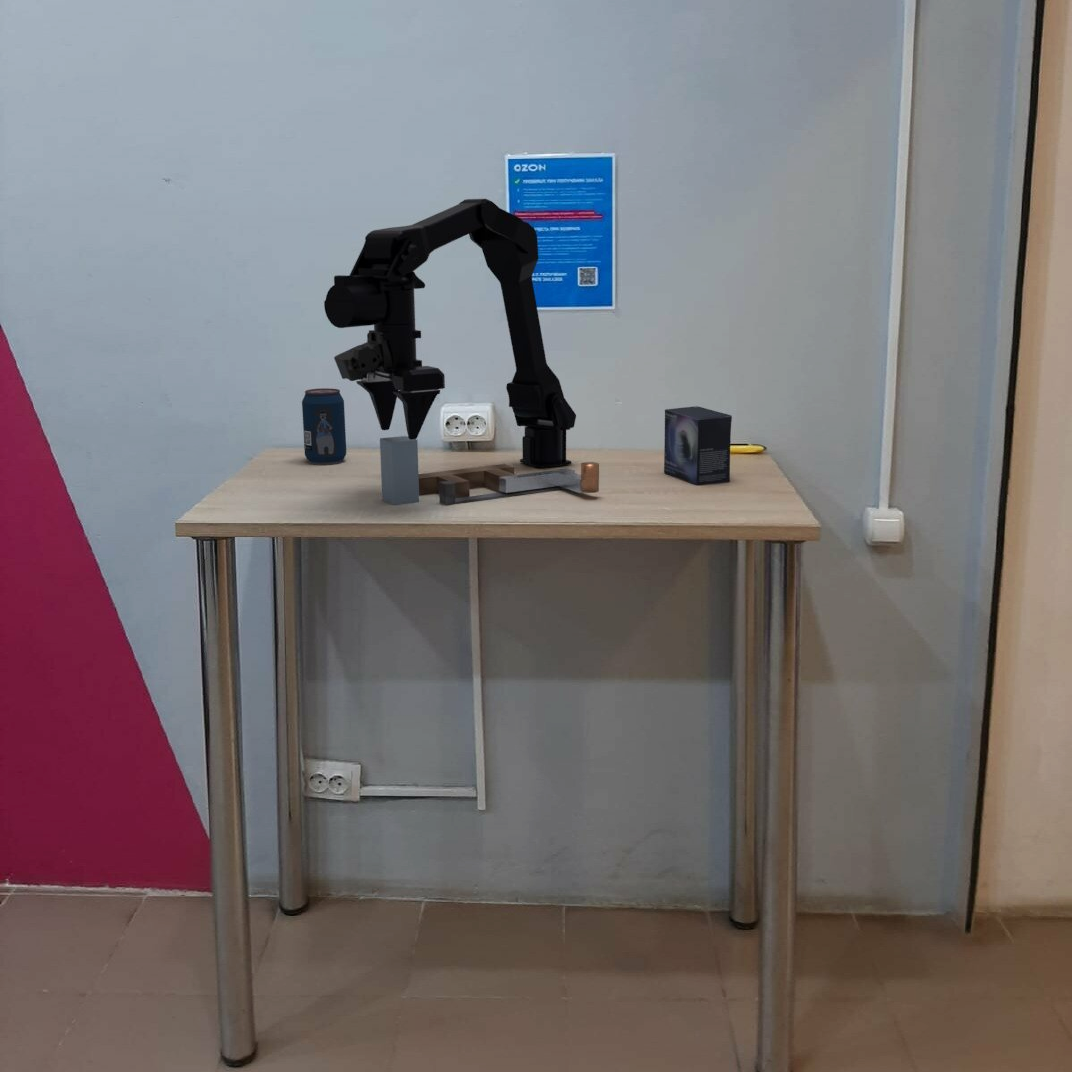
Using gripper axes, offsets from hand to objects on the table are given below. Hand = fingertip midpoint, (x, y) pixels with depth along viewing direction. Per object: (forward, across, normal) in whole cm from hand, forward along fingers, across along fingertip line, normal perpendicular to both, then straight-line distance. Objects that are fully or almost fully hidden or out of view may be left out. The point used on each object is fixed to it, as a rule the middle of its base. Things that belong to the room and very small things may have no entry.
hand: (398, 434), depth 166 cm
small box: (+10, +10, +46) cm, 48 cm away
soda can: (+10, -34, +2) cm, 35 cm away
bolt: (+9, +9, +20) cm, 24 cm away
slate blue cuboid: (+10, 0, 0) cm, 10 cm away
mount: (+10, +1, +15) cm, 18 cm away
